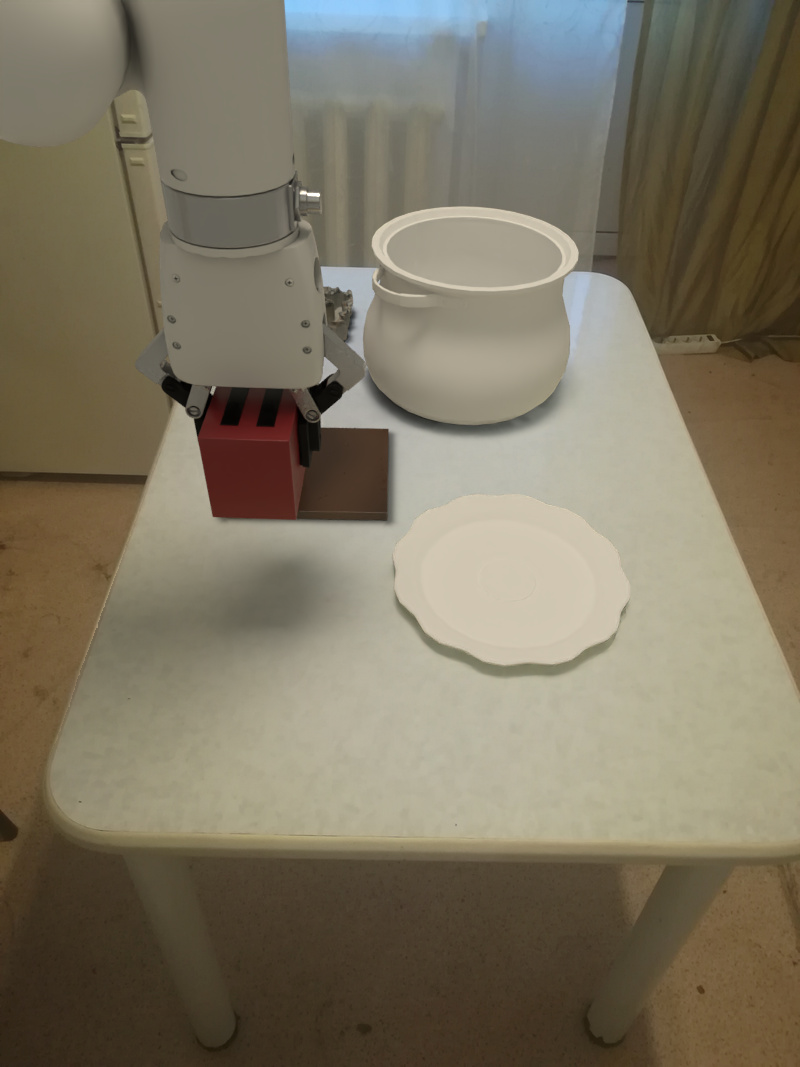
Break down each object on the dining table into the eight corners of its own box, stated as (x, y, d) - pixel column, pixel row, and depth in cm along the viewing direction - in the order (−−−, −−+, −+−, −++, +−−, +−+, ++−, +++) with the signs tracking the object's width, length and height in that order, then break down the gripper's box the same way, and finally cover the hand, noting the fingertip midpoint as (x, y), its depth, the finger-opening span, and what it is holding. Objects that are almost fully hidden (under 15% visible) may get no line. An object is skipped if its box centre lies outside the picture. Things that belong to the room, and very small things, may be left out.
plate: (451, 481, 78) (452, 469, 77) (649, 550, 72) (654, 537, 70) (350, 616, 65) (349, 603, 64) (583, 716, 58) (587, 704, 57)
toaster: (312, 427, 62) (307, 350, 57) (296, 520, 54) (289, 440, 49) (240, 424, 62) (229, 348, 57) (212, 517, 54) (196, 436, 49)
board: (223, 517, 73) (222, 510, 73) (245, 433, 84) (243, 425, 83) (387, 520, 74) (387, 512, 73) (388, 435, 84) (388, 428, 83)
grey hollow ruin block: (345, 347, 98) (345, 318, 95) (289, 343, 98) (286, 314, 95) (357, 308, 106) (357, 281, 103) (304, 305, 106) (302, 277, 103)
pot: (451, 467, 80) (464, 322, 68) (320, 370, 94) (312, 235, 82) (606, 388, 92) (639, 253, 81) (469, 312, 106) (481, 187, 94)
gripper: (383, 190, 46) (379, 429, 59) (103, 179, 46) (159, 421, 59) (378, 239, 41) (375, 491, 53) (61, 227, 41) (132, 482, 53)
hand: (262, 452), depth 56 cm, fingers closed on toaster, 6 cm apart
